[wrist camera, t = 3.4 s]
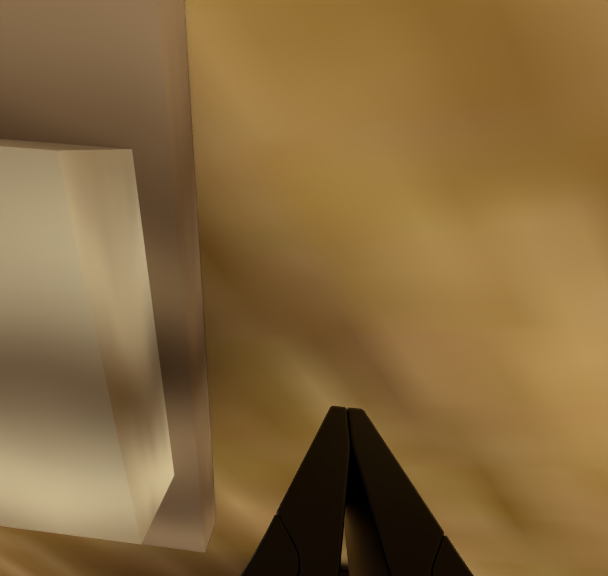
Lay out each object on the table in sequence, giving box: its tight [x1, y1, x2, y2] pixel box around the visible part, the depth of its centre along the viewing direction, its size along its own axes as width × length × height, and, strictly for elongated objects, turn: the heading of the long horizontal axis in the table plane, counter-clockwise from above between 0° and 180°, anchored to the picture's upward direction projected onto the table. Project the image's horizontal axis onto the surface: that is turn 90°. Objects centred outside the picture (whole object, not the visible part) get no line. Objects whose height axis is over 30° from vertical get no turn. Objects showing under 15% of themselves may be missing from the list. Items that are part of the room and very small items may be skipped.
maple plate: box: [0, 139, 174, 544], centre depth 10 cm, size 12×8×2 cm, turn 176°
